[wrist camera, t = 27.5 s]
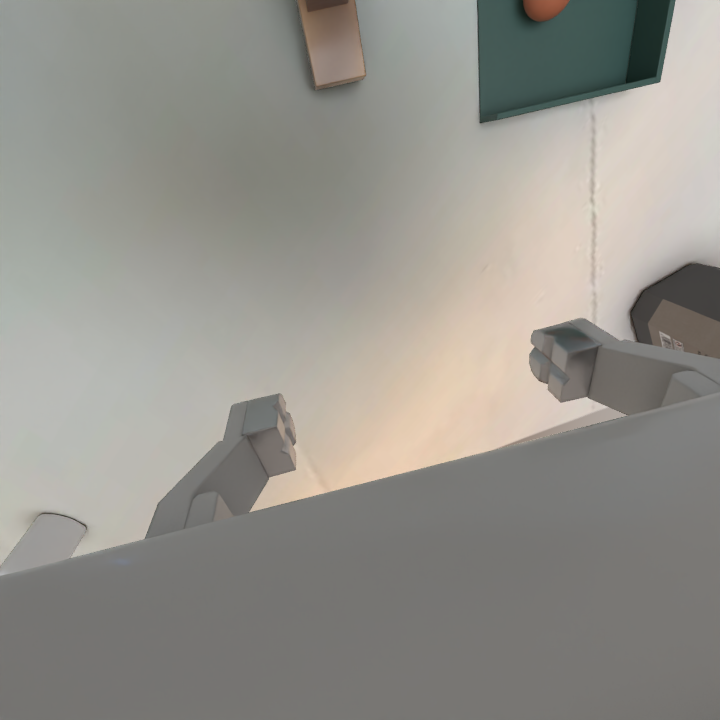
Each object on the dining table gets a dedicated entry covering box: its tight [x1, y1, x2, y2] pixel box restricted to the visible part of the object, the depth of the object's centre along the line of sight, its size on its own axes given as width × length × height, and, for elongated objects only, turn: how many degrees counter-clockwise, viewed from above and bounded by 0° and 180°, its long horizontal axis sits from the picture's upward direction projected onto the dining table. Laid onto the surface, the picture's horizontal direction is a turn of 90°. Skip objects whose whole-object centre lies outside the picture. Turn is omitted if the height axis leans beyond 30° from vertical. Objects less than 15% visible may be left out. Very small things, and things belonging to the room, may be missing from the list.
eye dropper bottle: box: [0, 514, 86, 576], centre depth 40 cm, size 4×6×12 cm
